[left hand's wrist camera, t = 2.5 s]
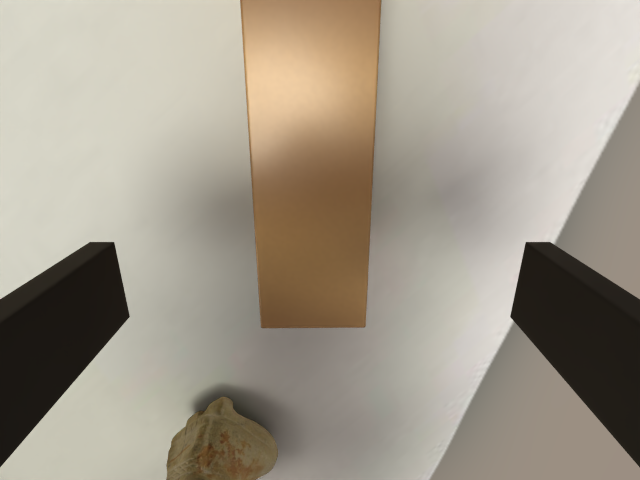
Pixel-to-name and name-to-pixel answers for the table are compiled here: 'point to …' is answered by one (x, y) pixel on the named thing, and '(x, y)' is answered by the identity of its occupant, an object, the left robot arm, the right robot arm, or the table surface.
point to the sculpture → (221, 446)
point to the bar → (311, 155)
